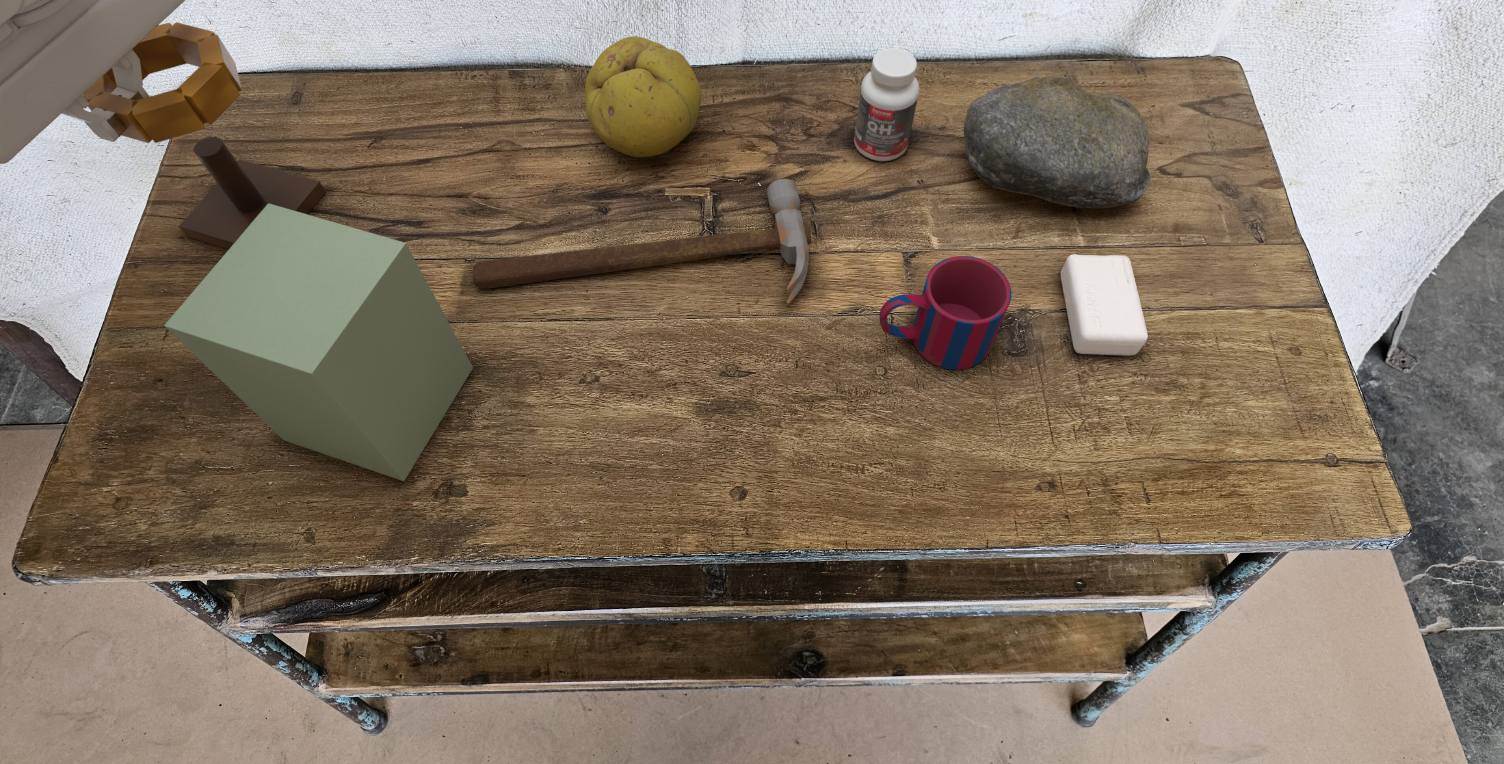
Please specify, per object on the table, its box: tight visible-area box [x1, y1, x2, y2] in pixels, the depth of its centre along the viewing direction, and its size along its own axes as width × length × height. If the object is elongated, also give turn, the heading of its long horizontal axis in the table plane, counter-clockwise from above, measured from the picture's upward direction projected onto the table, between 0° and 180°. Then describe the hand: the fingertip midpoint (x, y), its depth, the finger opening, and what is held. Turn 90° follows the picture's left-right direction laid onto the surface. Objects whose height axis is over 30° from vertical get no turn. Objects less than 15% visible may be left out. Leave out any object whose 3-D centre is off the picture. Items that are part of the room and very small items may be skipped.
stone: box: [963, 75, 1151, 209], centre depth 78 cm, size 17×13×10 cm
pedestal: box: [164, 204, 474, 482], centre depth 62 cm, size 11×11×16 cm
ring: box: [82, 21, 243, 144], centre depth 67 cm, size 10×10×3 cm
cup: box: [878, 255, 1012, 371], centre depth 70 cm, size 7×10×7 cm
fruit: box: [584, 36, 703, 158], centre depth 80 cm, size 11×12×10 cm
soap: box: [1060, 253, 1149, 357], centre depth 72 cm, size 9×6×3 cm, turn 178°
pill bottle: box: [853, 47, 920, 162], centre depth 80 cm, size 5×5×10 cm
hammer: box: [472, 178, 812, 308], centre depth 75 cm, size 12×3×30 cm
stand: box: [178, 136, 326, 250], centre depth 76 cm, size 9×9×8 cm
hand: (127, 121), depth 65 cm, fingers closed on ring
